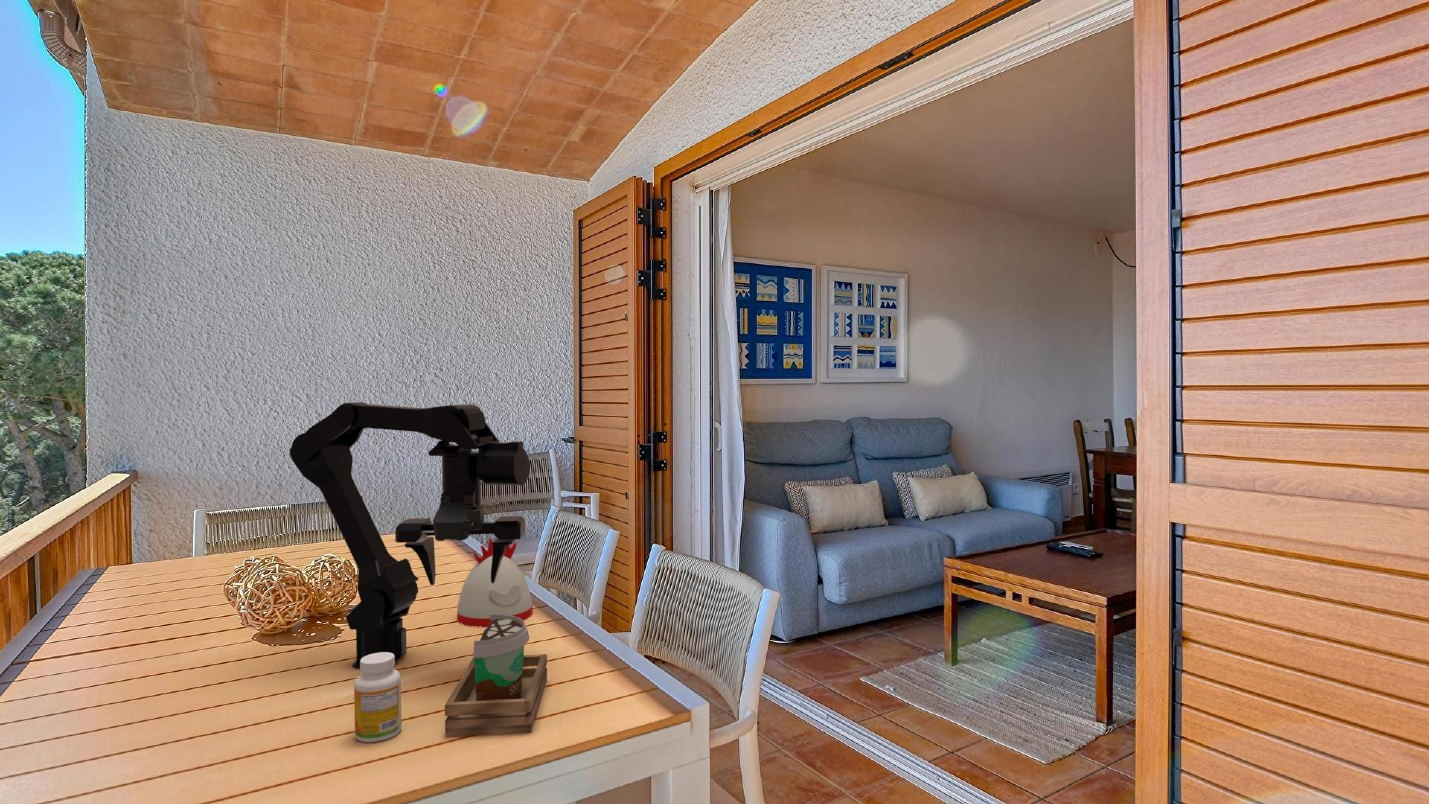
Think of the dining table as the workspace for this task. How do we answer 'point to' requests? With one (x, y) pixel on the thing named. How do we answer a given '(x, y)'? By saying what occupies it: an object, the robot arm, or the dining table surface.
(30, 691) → the dining table surface
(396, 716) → the supplement bottle
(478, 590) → the kitchen timer
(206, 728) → the dining table surface
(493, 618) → the food container
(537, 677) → the tray
